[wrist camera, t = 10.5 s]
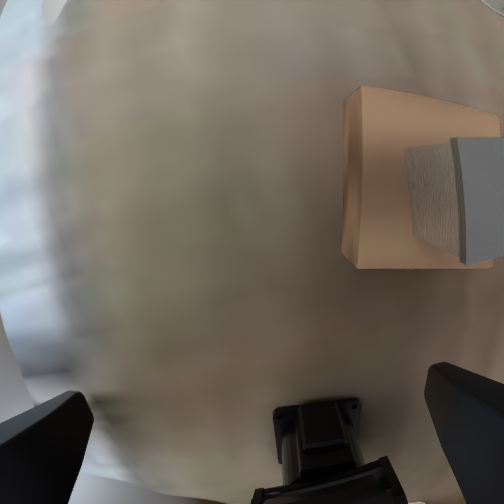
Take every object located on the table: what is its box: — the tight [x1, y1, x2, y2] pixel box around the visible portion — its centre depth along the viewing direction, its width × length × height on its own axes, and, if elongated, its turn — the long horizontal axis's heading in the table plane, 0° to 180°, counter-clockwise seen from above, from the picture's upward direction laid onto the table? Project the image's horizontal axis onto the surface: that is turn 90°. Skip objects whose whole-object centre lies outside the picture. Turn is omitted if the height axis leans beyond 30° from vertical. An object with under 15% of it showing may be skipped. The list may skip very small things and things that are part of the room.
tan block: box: [341, 86, 500, 269], centre depth 16 cm, size 9×9×4 cm
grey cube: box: [404, 137, 504, 265], centre depth 12 cm, size 5×5×5 cm
